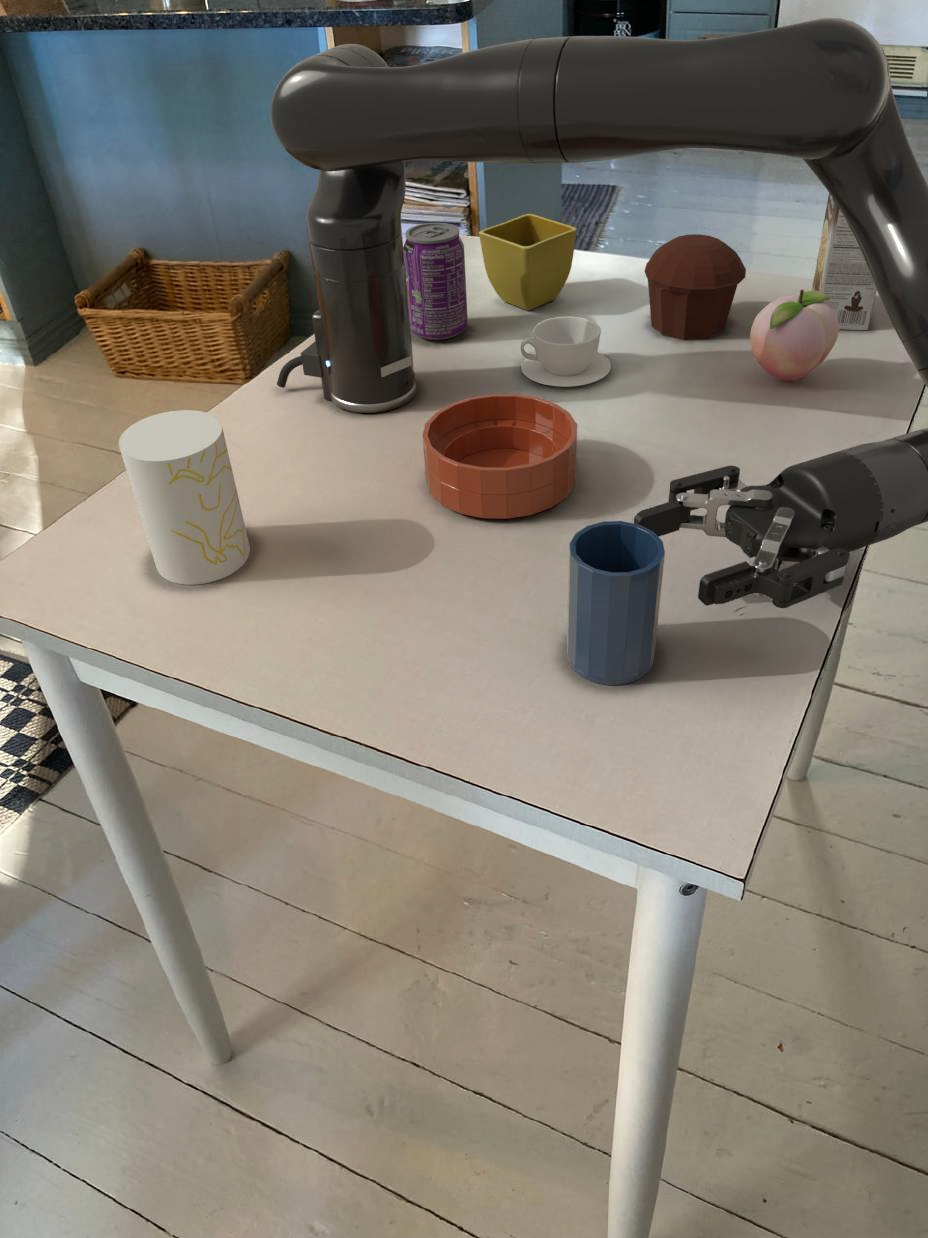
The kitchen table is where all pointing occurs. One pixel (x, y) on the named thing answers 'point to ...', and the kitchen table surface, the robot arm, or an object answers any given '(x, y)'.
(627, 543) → the tumbler
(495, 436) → the bowl
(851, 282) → the coffee box
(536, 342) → the teacup
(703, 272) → the muffin
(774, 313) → the decorative fruit
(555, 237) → the flower pot
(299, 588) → the kitchen table surface
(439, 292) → the beverage can
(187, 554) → the cup
